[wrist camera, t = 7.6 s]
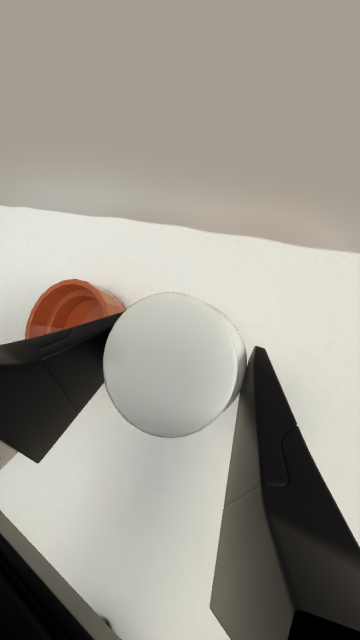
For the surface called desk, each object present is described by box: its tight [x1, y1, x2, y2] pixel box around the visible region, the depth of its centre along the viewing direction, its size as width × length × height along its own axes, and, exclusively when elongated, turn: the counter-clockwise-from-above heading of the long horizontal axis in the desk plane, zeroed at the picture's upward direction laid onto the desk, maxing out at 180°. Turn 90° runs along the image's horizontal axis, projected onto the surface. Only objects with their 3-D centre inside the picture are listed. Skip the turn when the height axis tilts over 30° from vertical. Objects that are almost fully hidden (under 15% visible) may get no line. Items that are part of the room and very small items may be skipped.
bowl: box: [25, 279, 126, 339], centre depth 22 cm, size 12×12×4 cm
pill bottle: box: [103, 293, 247, 438], centre depth 11 cm, size 6×6×10 cm
